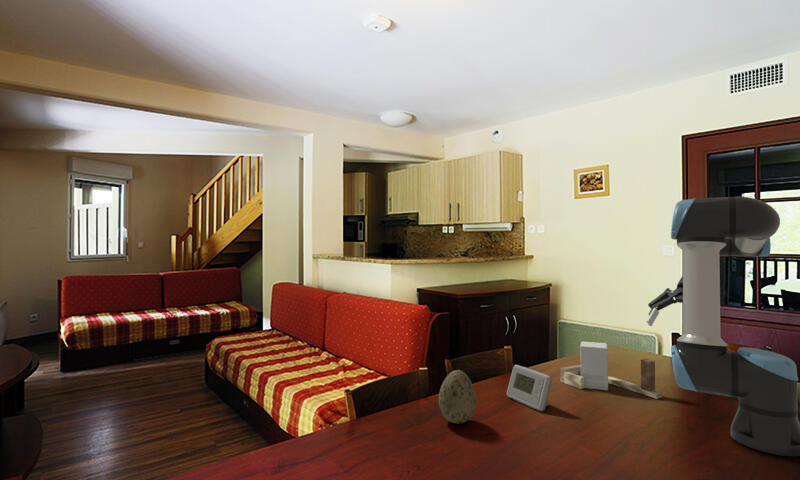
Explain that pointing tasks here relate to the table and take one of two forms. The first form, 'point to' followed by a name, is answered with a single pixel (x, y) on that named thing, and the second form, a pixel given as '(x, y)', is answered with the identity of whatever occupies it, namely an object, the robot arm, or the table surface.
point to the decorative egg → (457, 397)
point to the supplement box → (594, 365)
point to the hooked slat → (647, 387)
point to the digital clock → (529, 387)
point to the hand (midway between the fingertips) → (667, 327)
